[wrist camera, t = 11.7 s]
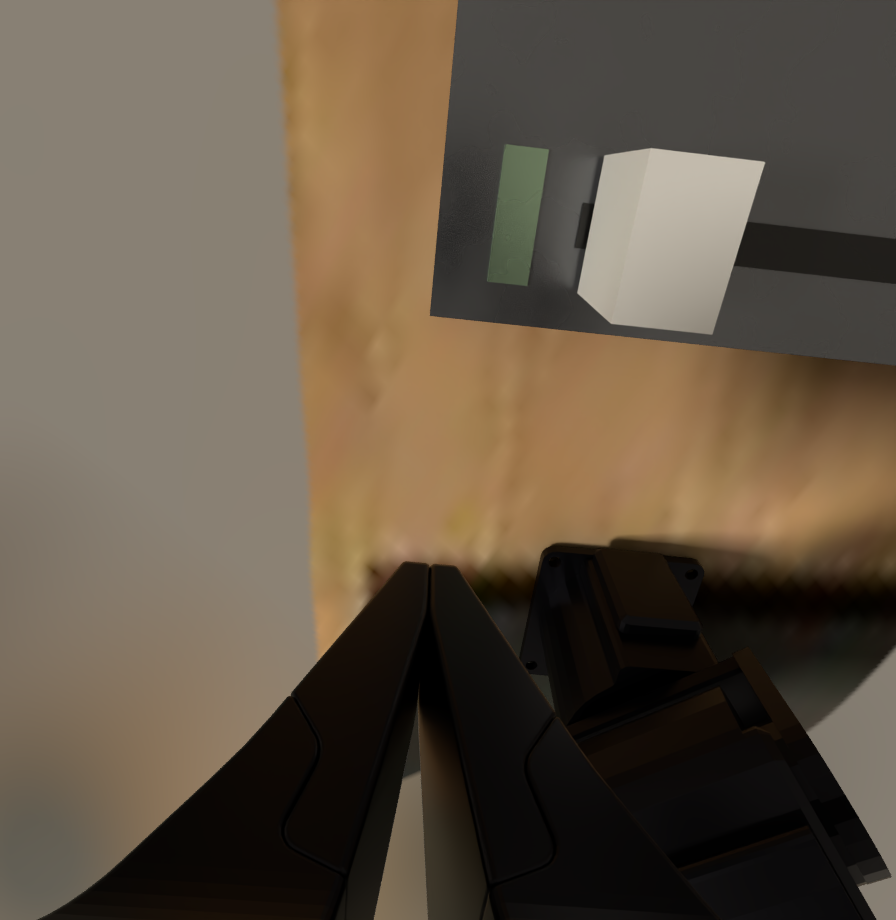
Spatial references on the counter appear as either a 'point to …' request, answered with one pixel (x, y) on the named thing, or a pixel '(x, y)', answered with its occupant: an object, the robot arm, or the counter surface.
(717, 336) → the dark grey flat plate
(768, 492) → the counter surface
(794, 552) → the counter surface
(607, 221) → the block
